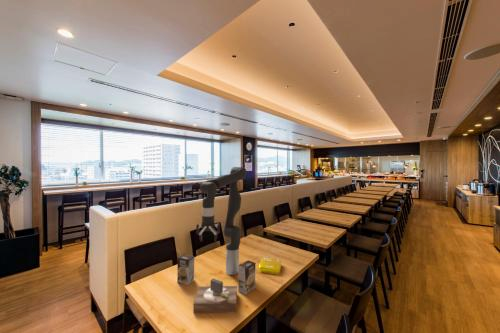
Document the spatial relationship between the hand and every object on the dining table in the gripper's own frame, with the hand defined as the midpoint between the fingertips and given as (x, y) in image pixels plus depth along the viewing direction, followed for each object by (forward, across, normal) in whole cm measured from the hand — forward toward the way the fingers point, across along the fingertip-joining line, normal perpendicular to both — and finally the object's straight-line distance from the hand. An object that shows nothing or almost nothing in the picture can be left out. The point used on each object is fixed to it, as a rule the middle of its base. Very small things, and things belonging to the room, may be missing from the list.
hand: (208, 240), depth 128 cm
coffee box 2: (+30, -24, +1) cm, 39 cm away
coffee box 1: (+30, +16, -9) cm, 35 cm away
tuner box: (+30, -7, +13) cm, 34 cm away
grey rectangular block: (+25, -8, +14) cm, 29 cm away
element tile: (+31, -42, -25) cm, 58 cm away
